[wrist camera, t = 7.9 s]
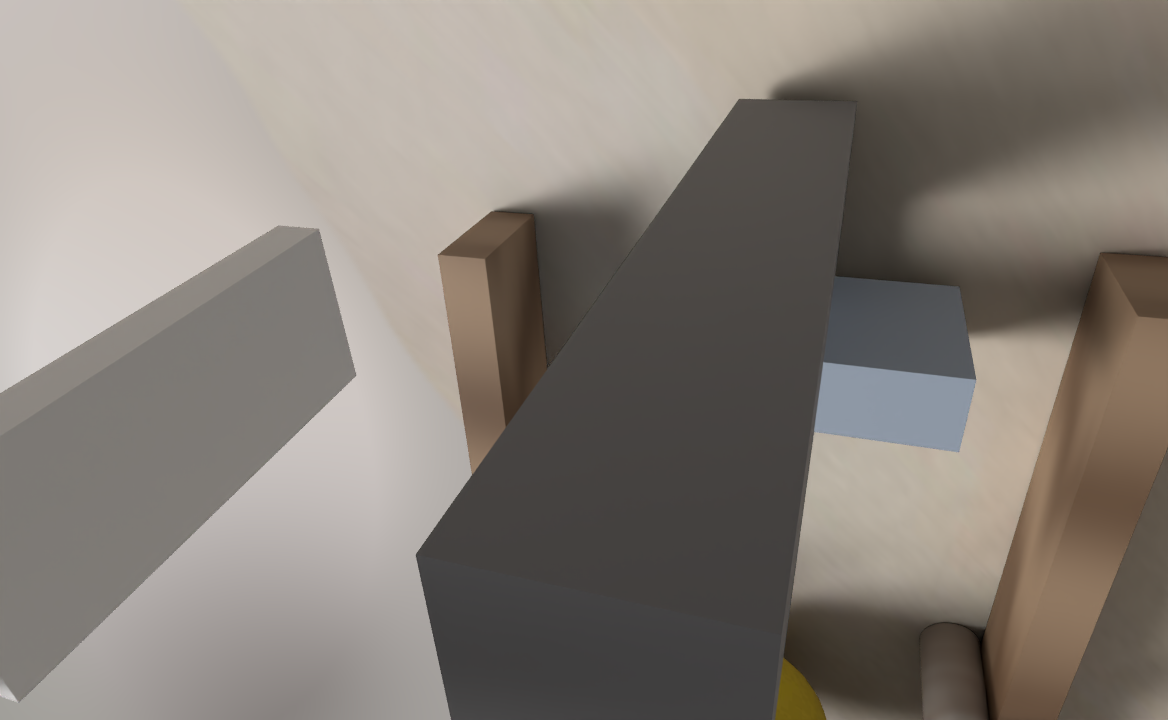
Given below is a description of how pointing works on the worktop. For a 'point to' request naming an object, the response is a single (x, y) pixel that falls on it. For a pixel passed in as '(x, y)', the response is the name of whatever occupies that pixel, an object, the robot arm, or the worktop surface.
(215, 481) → the robot arm
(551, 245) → the worktop surface
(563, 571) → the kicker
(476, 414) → the lane
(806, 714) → the lemon
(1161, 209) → the worktop surface
